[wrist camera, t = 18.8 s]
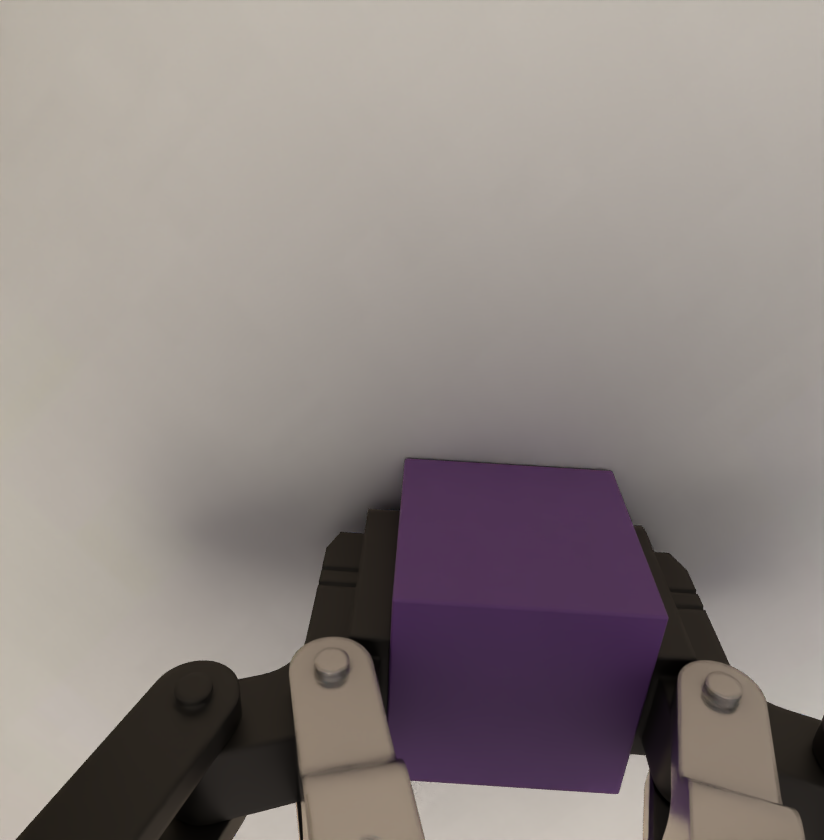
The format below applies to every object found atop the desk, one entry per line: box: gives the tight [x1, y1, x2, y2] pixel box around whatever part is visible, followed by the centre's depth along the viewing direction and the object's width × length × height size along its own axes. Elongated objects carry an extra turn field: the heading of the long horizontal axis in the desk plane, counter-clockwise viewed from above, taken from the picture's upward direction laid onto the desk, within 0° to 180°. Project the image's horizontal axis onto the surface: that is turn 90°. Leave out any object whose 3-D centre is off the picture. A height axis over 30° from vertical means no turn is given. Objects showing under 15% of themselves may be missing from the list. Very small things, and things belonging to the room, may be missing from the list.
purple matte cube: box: [387, 458, 668, 794], centre depth 13 cm, size 4×4×4 cm
